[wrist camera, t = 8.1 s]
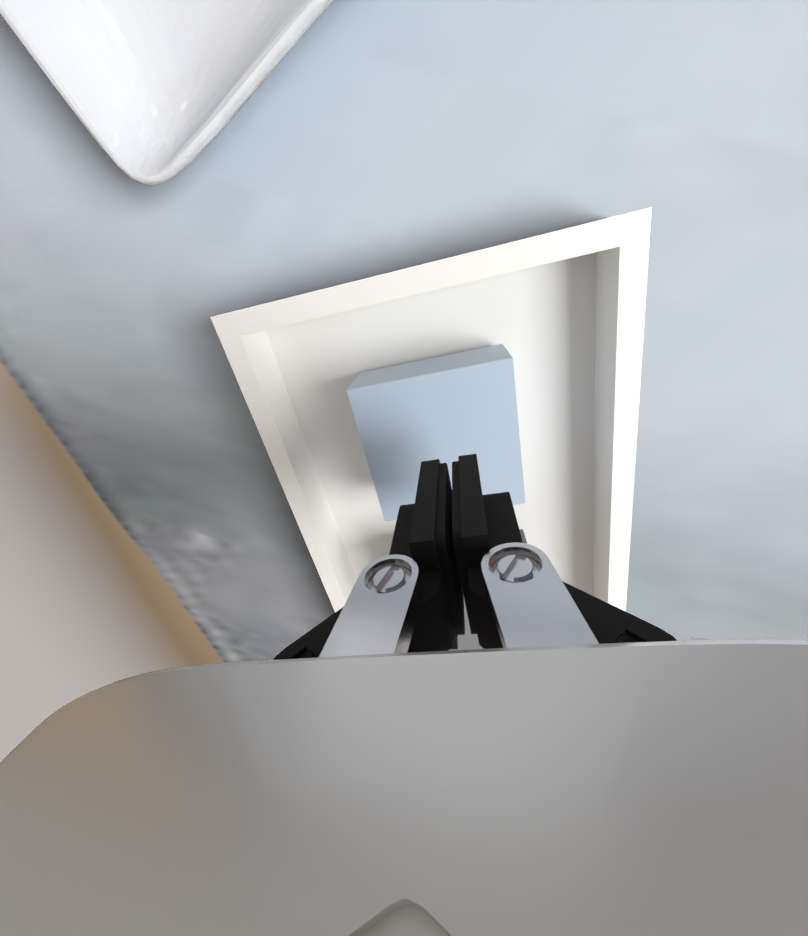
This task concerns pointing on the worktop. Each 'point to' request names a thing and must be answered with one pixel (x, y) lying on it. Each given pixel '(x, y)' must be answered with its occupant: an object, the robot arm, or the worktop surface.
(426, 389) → the dusty blue key
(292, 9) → the salad plate
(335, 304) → the white rectangular tray
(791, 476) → the worktop surface
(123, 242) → the worktop surface
